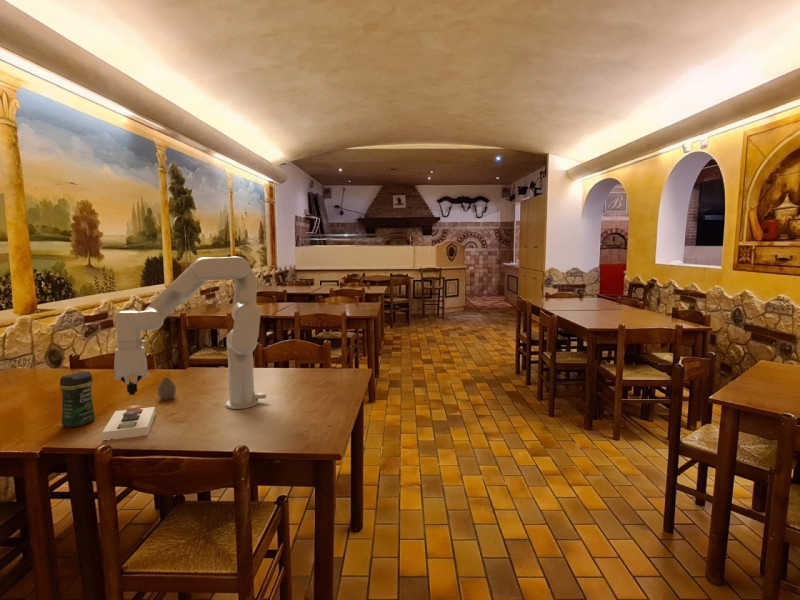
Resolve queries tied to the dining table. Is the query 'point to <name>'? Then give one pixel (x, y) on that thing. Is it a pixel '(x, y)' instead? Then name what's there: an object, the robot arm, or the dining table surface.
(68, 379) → the coffee jar
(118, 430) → the button panel
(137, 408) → the button terracotta
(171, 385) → the vase
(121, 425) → the button sage
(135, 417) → the button charcoal
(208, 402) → the dining table surface
